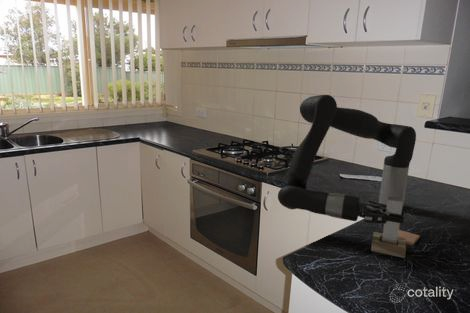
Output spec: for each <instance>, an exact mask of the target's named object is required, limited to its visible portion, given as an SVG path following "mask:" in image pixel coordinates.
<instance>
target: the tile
mask: <svg viewBox="0 0 470 313" xmlns="http://www.w3.org/2000/svg"><path fill="white" fill-rule="evenodd" d="M398 237H403V238H405V240H406V245H409V246H414V245H415V243H417V241H418V240H419V239H420V235H418V234H416V233H415V234H414V233H413V232H412V233H411V232H408V231H404V230H401V229H399V232H398Z"/></svg>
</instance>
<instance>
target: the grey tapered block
mask: <svg viewBox="0 0 470 313" xmlns="http://www.w3.org/2000/svg"><path fill="white" fill-rule="evenodd" d="M402 205H403V206H404V204H403V198H397V197H391V196H388V199H387V207H386V212H387V213H391V214H397V215H401V212H402V211H403V209H402ZM400 225H401V223H396V222H391V221H389V222H386V224H383V231H382V234H383V236H382V242H383V243H388V244H393V245H397V239H398V232H399V230H400Z"/></svg>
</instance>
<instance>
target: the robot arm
mask: <svg viewBox="0 0 470 313" xmlns="http://www.w3.org/2000/svg"><path fill="white" fill-rule="evenodd" d="M299 111H300V112H299V113H300V115H301V117H302V118H303V119H304V120H305V121H306V122H308V123H309V124H311V126H310V129H309V131H308V133H307V134H306V136H305V137H304V139H303V140H302V141H301V142H300V144H299V146H298V147H296V149H295V151H294V153H293V155H292V159H291V161H290V165H289V168H288V171H287V177H288V180H287V183H286V185H285V186H283V187H282V188H280V190H279V191H278V193H277V199H278V202H279V204H281V206H283V207H285V208H286V209H289V210H296V209H297V210H303V211H304V210H305V211H308V212H310V213H313V214H317V215H323V216H328V217H330V218H331V217H332V218H335V219H340V220H346V221H350V222H351V221H352V222H357V221H358V219H359V217H360V218H363V220H364V222H365V223H371V224H382V225H384V224H386V222H389V221H391V222H396V223H400V224H403V223H404V220H405V215H404V213H405V211H404V210H403V209H404V203H405V196H406V188H407V184H408V177H409V176H408V175H409V169H410V164H411V161H412V158H413V155H414V150H415V145H416V140H417V133H416V129H415V128H414V127H413V126H409V125H403V124H395V123H388V122H383V121H380V120H379V119H378V118H377V117H376V116H375V115H373V114H371V113H368V112H366V111H363V110H361V109H356V108H350V107H349V108H347V107H346V108H345V107H338V104H337V101H336V99H335V98H334V96H332V95H330V94H319V95H313V96H309V97H307V98H305V99H304V100H303V101H302V102H301V104H300V105H299ZM330 128H334V129H335V130H338V131H341V132H343V133H347V134H350V135H353V136H355V137H359V138H363V139H368V140H374V141H376V142H379V143H382V144H383V145H385V146H387V147H390V148H395V152H394V154H393V155H388V156H385V157H384V160H383V169H382V176H381V183H380V191H379V198H378V202H376V201H373V200H368V202H365V203H364V202H362V203H361V198H360V197H359V196H356V195H349V194H345V193H344V194H342V193H337V192H335V193H334V192H324V191H318V190H310V189H307V185H308V180H309V177H310V175H311V171H312V169H313V165H314V162H315V160H316V156H317V154H318V151H319V149H320V147H321V145H322V143H323V142H324V139H325V137H326V135H327V133H328V131H329V129H330ZM388 196H391V197H397V198H403V205H402V212H401V215H397V214H391V213H387V212H386V207H387V199H388Z"/></svg>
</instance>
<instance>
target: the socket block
mask: <svg viewBox="0 0 470 313" xmlns="http://www.w3.org/2000/svg"><path fill="white" fill-rule="evenodd" d="M372 234H373V235H372V242H371V247H370V248H371V249H370V251H371V252H373V253H380V254H384V255H389V256H393V257H399V258H402V259H405V258H406V252H407V244H406V240H405V238H403V237H398V239H397V245H393V244H388V243H383V242H382V236H383V232H382V233H380V232H376V231H374V232H373V233H372Z"/></svg>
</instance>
